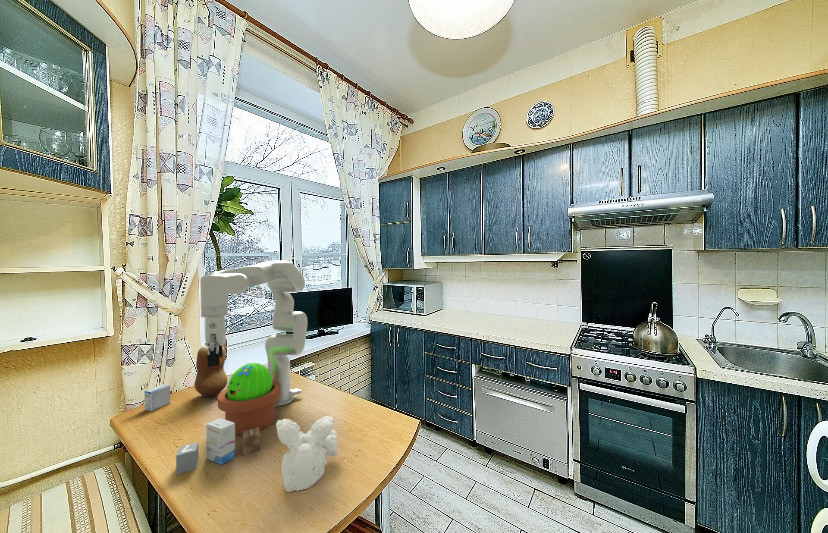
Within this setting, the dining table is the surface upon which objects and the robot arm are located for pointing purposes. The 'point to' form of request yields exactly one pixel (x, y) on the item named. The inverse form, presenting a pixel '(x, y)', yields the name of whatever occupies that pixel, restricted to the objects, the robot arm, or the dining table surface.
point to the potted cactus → (250, 398)
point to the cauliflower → (305, 452)
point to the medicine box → (157, 397)
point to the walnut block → (251, 441)
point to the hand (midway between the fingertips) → (215, 361)
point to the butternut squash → (209, 374)
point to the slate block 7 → (187, 458)
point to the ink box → (220, 441)
